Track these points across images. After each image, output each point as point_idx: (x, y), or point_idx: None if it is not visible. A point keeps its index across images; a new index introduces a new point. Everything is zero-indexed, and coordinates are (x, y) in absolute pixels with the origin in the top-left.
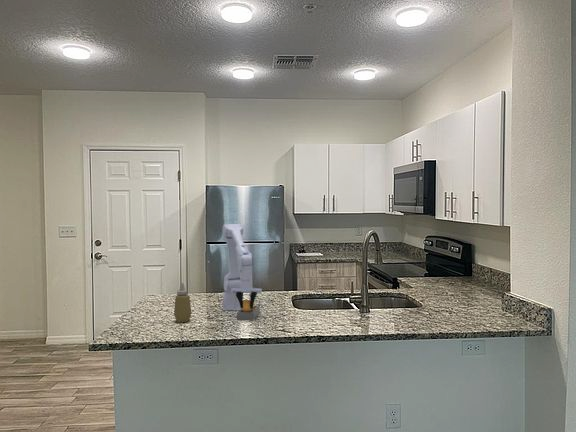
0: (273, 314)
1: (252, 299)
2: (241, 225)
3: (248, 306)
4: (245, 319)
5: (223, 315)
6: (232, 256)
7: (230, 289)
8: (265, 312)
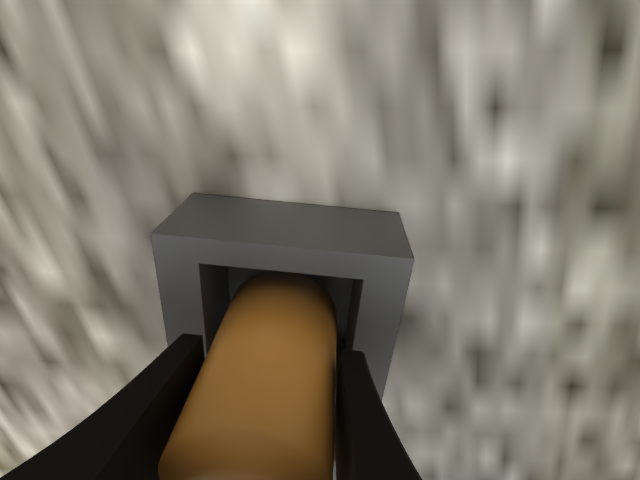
0: (76, 382)
1: (47, 467)
2: None
3: (221, 352)
4: (292, 206)
5: (552, 378)
6: None
7: None
8: None
